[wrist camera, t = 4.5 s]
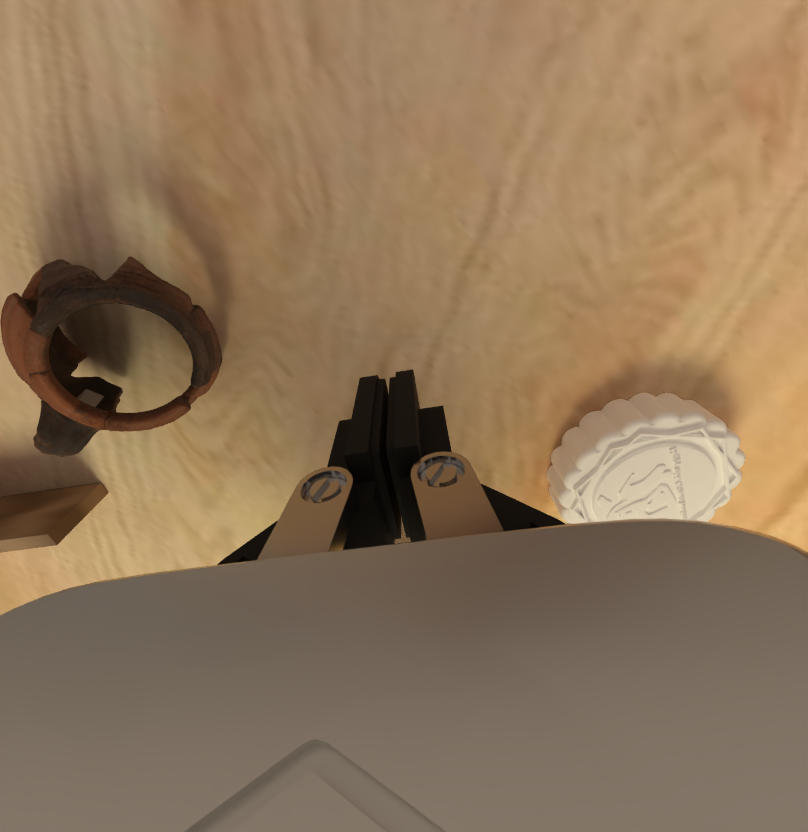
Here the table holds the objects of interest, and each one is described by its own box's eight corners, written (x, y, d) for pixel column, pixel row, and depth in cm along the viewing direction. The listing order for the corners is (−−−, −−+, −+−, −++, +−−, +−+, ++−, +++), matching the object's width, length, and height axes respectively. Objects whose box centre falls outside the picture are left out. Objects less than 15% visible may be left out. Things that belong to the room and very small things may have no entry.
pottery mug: (53, 202, 20) (19, 217, 14) (233, 290, 26) (262, 327, 20) (-16, 398, 22) (-70, 482, 16) (165, 435, 28) (174, 506, 22)
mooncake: (524, 431, 27) (541, 462, 24) (706, 361, 24) (751, 385, 21) (566, 538, 32) (584, 575, 29) (718, 490, 30) (756, 524, 26)
